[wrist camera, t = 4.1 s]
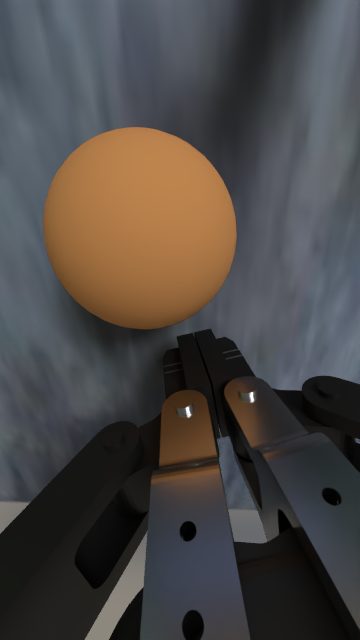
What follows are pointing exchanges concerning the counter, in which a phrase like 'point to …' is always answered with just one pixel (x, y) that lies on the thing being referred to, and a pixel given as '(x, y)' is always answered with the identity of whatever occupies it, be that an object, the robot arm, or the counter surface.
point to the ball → (139, 228)
